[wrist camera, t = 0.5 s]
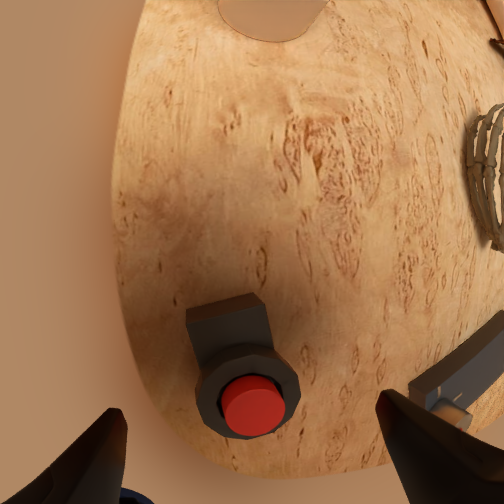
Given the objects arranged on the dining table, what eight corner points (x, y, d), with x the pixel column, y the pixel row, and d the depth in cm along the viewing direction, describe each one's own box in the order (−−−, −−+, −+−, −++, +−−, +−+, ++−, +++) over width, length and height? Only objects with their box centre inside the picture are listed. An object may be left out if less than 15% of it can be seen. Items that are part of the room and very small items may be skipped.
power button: (281, 411, 18) (289, 425, 17) (229, 426, 18) (233, 442, 16) (271, 367, 18) (279, 381, 16) (214, 383, 17) (217, 399, 15)
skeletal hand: (518, 100, 19) (490, 83, 18) (525, 256, 22) (500, 259, 21) (483, 108, 25) (452, 95, 24) (488, 248, 28) (459, 250, 27)
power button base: (284, 387, 23) (306, 421, 18) (207, 409, 22) (214, 448, 17) (263, 289, 22) (285, 308, 17) (175, 311, 21) (172, 337, 16)
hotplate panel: (500, 309, 29) (517, 315, 26) (497, 357, 31) (512, 363, 28) (392, 393, 26) (410, 407, 23) (395, 439, 27) (410, 453, 24)
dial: (449, 392, 24) (476, 408, 20) (448, 414, 25) (472, 430, 21) (425, 410, 24) (452, 430, 20) (425, 431, 24) (448, 451, 20)
